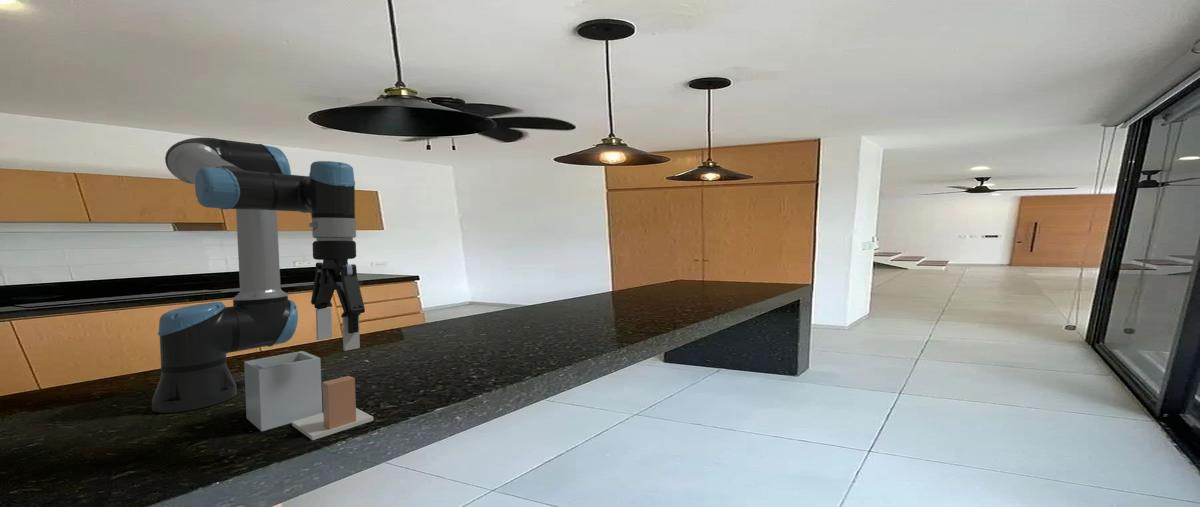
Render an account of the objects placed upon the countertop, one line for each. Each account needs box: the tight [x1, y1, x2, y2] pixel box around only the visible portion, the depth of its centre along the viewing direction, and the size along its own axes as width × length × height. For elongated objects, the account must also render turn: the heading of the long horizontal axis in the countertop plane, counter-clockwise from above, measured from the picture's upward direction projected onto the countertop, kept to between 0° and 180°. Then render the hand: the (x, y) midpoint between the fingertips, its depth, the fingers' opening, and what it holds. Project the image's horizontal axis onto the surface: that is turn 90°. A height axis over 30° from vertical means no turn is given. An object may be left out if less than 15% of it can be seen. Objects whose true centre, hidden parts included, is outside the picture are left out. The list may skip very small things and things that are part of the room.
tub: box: [243, 350, 323, 432], centre depth 96 cm, size 11×11×12 cm
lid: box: [291, 375, 374, 441], centre depth 92 cm, size 11×11×10 cm
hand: (337, 343), depth 89 cm, fingers open, 13 cm apart
